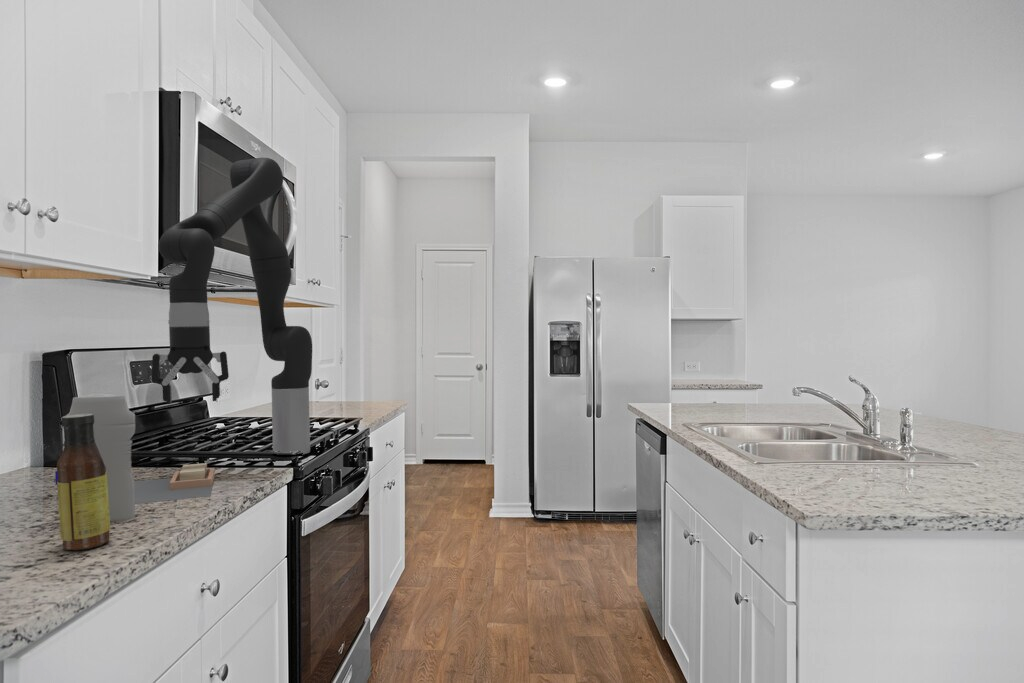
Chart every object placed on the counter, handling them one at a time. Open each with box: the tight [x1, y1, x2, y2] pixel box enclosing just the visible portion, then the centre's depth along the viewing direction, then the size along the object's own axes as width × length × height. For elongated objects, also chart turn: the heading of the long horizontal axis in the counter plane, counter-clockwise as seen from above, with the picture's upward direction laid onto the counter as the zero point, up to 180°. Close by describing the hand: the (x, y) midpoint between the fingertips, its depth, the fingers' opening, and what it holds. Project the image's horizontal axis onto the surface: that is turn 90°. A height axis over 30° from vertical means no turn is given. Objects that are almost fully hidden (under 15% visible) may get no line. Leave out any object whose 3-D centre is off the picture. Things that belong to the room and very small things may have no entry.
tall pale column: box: [65, 392, 136, 523], centre depth 106 cm, size 11×4×22 cm, turn 106°
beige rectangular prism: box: [179, 462, 208, 481], centre depth 132 cm, size 8×4×3 cm, turn 23°
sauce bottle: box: [56, 414, 111, 552], centre depth 95 cm, size 6×6×20 cm
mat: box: [134, 473, 216, 505], centre depth 127 cm, size 20×16×1 cm
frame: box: [170, 467, 216, 490], centre depth 132 cm, size 11×8×2 cm
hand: (192, 402), depth 132 cm, fingers open, 8 cm apart
